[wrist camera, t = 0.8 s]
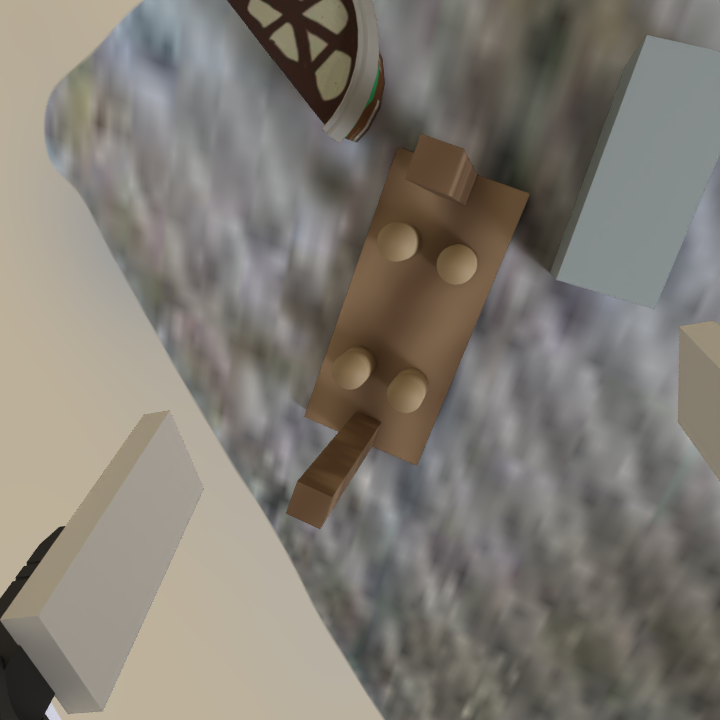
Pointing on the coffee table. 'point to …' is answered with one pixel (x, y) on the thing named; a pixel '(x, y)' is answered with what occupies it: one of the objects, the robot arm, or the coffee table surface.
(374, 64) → the food container
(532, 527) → the coffee table surface
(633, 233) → the shelf board
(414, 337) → the peg stand
